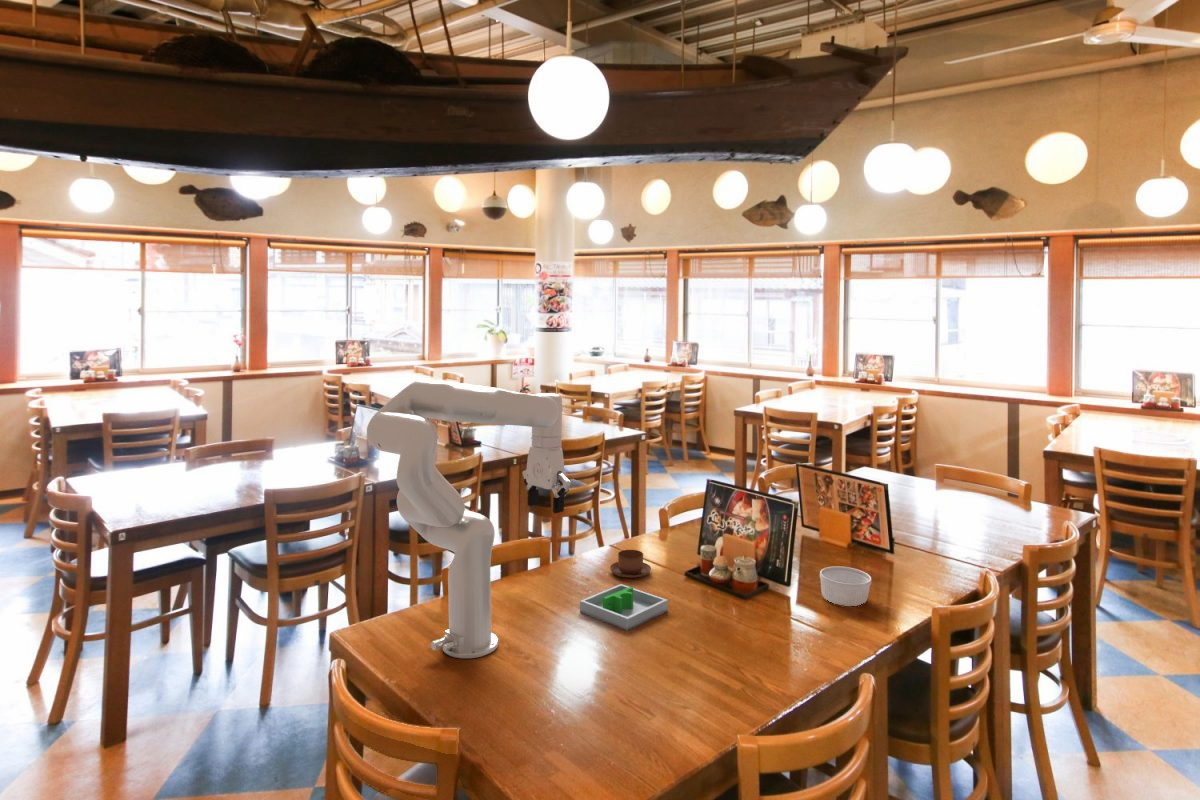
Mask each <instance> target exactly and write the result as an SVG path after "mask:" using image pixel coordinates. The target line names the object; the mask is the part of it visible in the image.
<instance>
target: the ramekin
mask: <svg viewBox="0 0 1200 800" xmlns="http://www.w3.org/2000/svg"><path fill="white" fill-rule="evenodd" d="M819 578H820V590H821V596H822V597H823V598H824V600H825V599H826V600H825V601H827V600H828V601H829V603H830V602H832V603H834V604H833V605H835V604H839V605H845V606H857V605H861V604H863V603H864V604H866V602H867V601H868V598H869V593H870V588H871V585H872V577H871V575H870V574H869V573H867V572H865V571H863V570H860V569H857V568H855V567H854V568H853V567H848V566H835V565H833V566H828V567H824V568H822V569H821V570H820V571H819ZM828 601H827V602H828ZM832 603H831V604H832ZM864 604H863V605H864ZM861 606H862V605H861Z"/></svg>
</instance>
